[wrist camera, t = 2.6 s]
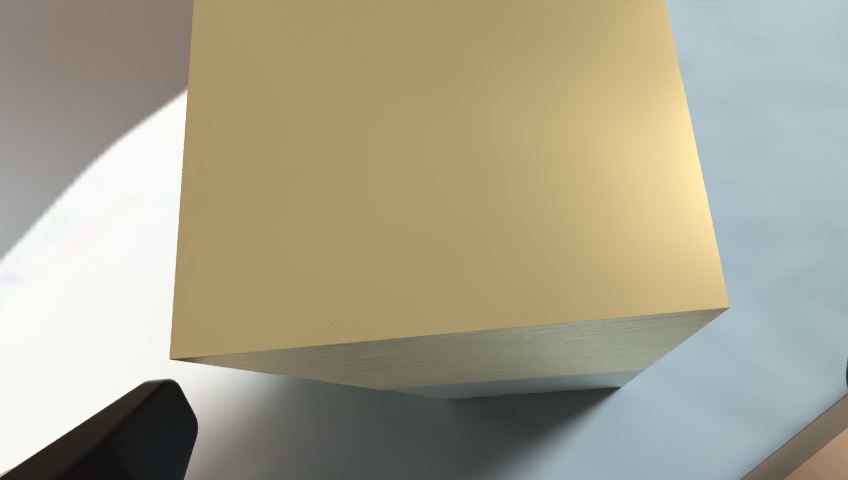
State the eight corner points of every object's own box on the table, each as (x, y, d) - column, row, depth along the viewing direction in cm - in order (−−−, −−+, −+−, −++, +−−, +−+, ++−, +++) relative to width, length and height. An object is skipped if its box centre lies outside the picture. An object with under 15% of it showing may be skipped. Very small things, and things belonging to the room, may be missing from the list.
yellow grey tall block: (621, 387, 17) (729, 307, 5) (446, 399, 18) (169, 359, 6) (596, 218, 18) (629, -172, 6) (436, 238, 19) (197, -61, 7)
